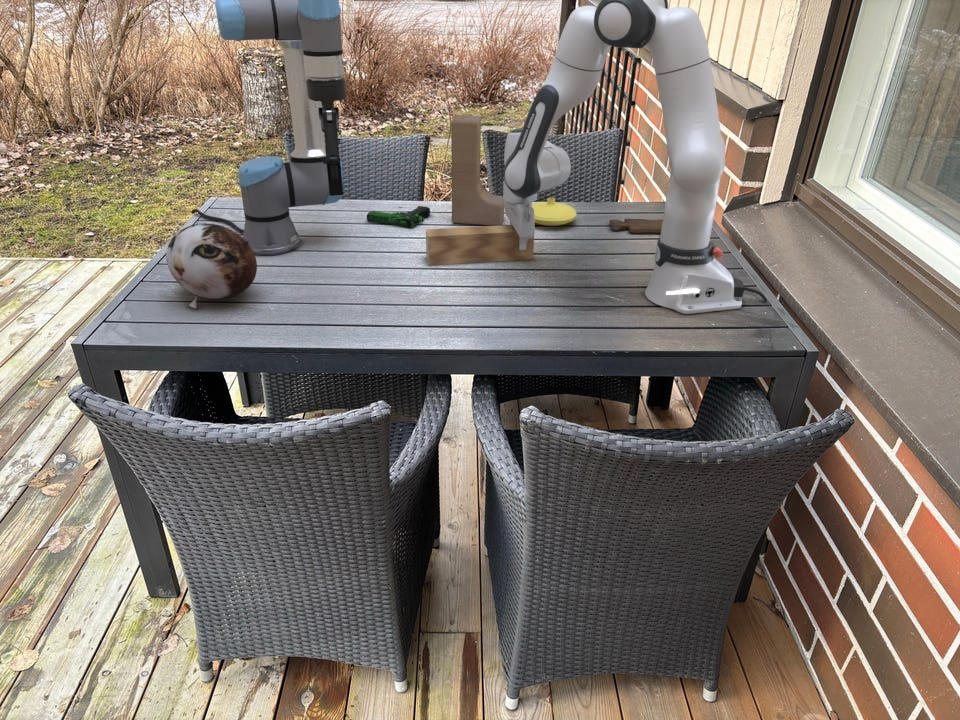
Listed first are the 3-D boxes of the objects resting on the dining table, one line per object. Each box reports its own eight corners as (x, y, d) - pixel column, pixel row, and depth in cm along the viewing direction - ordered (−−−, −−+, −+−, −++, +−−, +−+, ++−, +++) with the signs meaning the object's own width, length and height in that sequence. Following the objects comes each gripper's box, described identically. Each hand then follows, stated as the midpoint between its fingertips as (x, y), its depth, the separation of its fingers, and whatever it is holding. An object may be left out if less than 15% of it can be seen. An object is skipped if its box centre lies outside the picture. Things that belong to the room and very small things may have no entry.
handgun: (435, 206, 218) (413, 220, 206) (436, 216, 220) (413, 230, 208) (389, 200, 224) (364, 213, 212) (389, 209, 225) (365, 223, 213)
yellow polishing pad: (541, 209, 225) (542, 187, 222) (585, 220, 218) (587, 197, 214) (513, 223, 214) (514, 200, 211) (559, 234, 206) (560, 211, 203)
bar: (428, 265, 187) (428, 236, 182) (426, 257, 191) (425, 229, 187) (532, 259, 191) (534, 231, 187) (528, 251, 196) (529, 224, 191)
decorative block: (501, 226, 212) (504, 122, 196) (451, 223, 213) (450, 120, 198) (504, 218, 218) (507, 116, 203) (455, 215, 220) (455, 114, 204)
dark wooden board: (700, 236, 208) (693, 224, 217) (701, 230, 207) (694, 219, 216) (612, 233, 208) (607, 221, 217) (613, 227, 207) (608, 216, 216)
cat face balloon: (130, 285, 161) (164, 203, 163) (192, 308, 177) (221, 233, 178) (195, 307, 151) (229, 220, 152) (254, 330, 166) (285, 250, 168)
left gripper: (348, 89, 129) (356, 202, 140) (342, 67, 150) (350, 167, 161) (305, 90, 128) (317, 204, 139) (305, 67, 149) (316, 169, 160)
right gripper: (542, 204, 175) (539, 256, 183) (523, 180, 193) (521, 228, 200) (517, 205, 174) (515, 258, 182) (500, 180, 192) (499, 230, 199)
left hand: (335, 185), depth 150 cm, fingers open, 13 cm apart
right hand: (518, 242), depth 191 cm, fingers open, 8 cm apart
